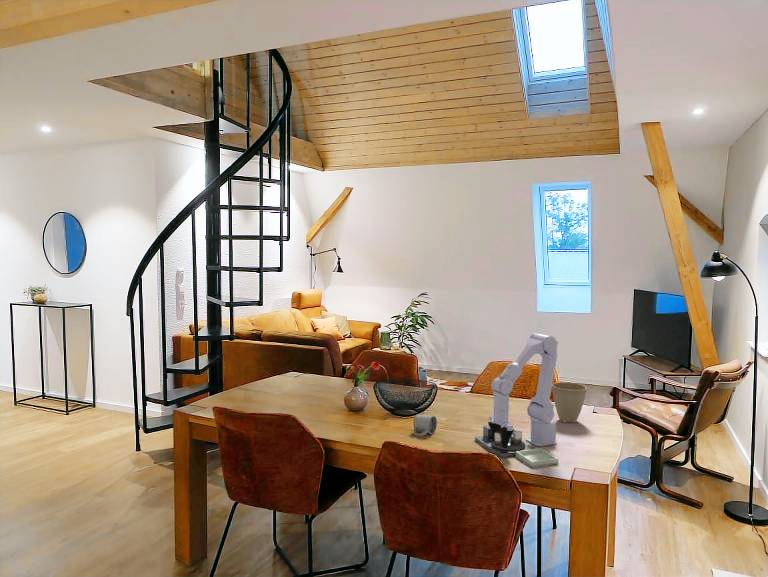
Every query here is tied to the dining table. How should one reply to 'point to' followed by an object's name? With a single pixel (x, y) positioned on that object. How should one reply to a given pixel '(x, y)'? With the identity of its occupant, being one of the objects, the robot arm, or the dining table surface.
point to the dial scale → (500, 450)
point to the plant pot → (568, 400)
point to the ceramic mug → (425, 424)
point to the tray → (536, 457)
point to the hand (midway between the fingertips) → (500, 443)
